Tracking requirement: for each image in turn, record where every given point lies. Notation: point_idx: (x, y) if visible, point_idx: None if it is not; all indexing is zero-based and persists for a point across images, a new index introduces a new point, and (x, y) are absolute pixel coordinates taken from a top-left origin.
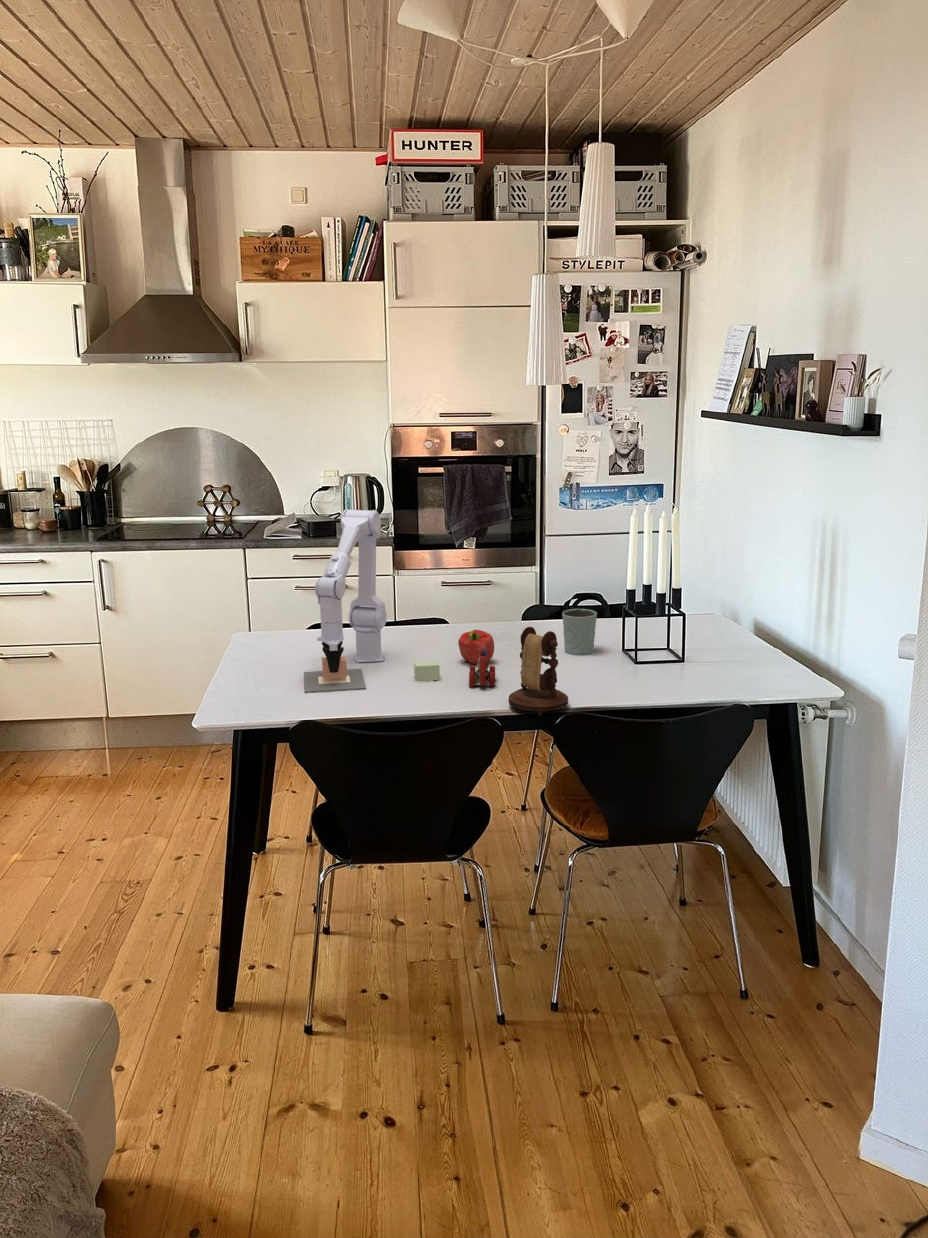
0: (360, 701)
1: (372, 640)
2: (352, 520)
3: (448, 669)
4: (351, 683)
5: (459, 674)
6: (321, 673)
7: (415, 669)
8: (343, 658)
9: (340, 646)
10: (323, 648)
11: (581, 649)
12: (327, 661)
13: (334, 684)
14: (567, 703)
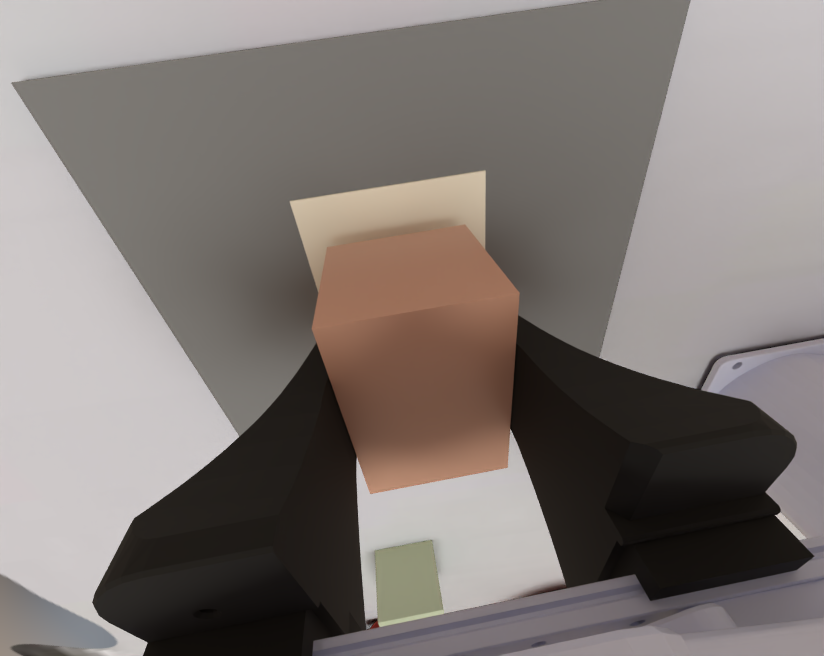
0: (36, 461)
1: (799, 517)
2: None
3: (498, 577)
4: None
5: (444, 597)
6: (578, 186)
7: (392, 598)
8: (438, 468)
9: (555, 543)
10: (154, 584)
11: None
12: (335, 376)
13: (293, 313)
14: None
